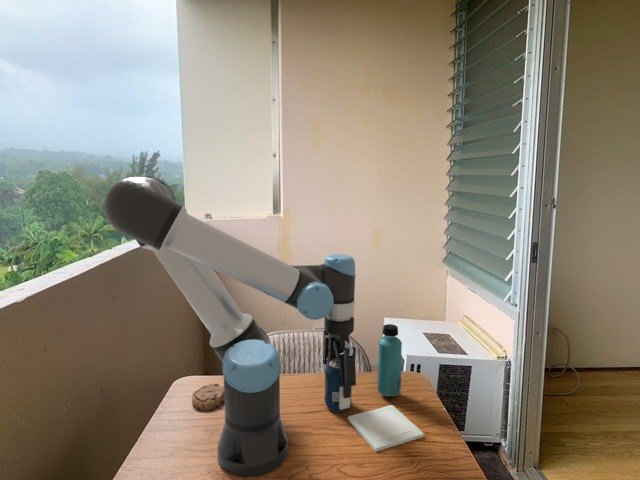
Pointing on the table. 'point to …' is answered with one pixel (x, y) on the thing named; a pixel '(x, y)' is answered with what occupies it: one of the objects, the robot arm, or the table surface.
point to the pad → (385, 427)
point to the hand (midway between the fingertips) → (337, 400)
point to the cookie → (208, 397)
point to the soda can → (333, 385)
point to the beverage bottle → (389, 362)
